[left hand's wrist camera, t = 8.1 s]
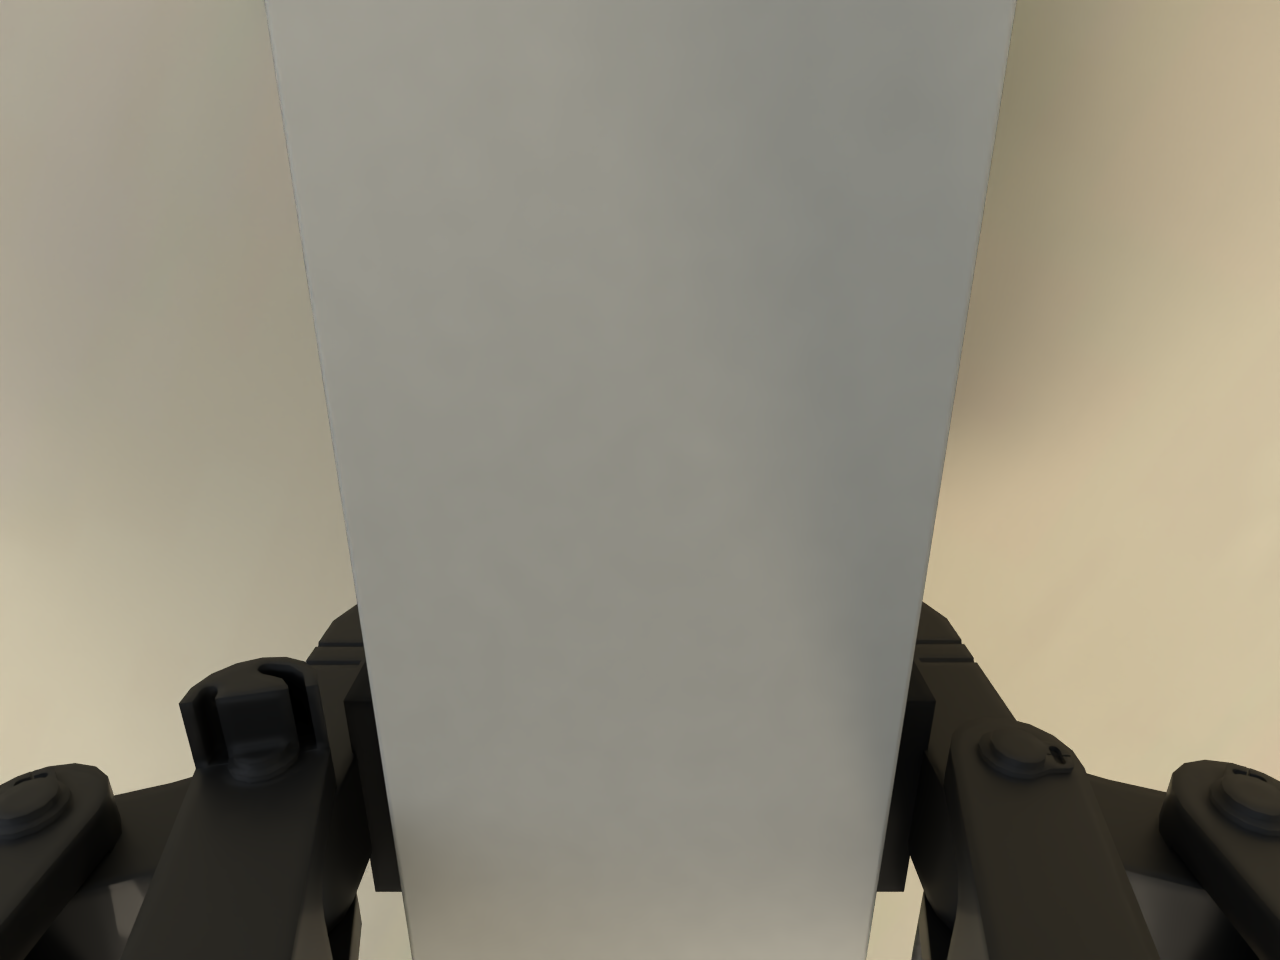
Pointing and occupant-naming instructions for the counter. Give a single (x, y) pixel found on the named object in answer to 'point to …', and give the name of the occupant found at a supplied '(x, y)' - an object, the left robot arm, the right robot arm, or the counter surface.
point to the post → (639, 440)
